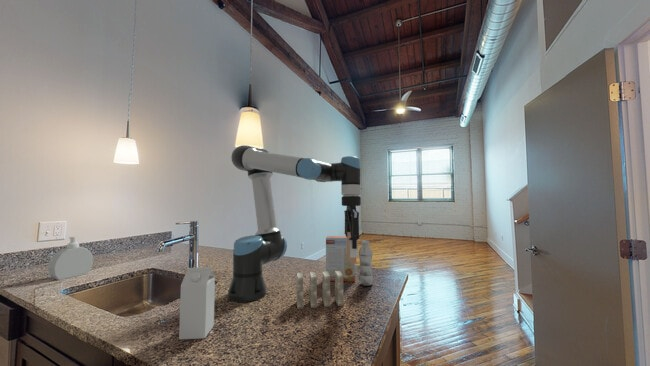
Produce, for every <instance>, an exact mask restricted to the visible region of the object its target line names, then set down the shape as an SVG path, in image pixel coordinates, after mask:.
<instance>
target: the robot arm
mask: <svg viewBox="0 0 650 366" xmlns="http://www.w3.org/2000/svg"><path fill="white" fill-rule="evenodd" d="M230 159H231V162H232V164H233V166H234V167H235V168H236V169H237V170H240V171H243V172H244V171H245V172H247V177H248V179H250V180H251V184H252V192H253V201H254V208H255V216H256V225H257V231H256V232H255V234H254V235H252V234H251V235H247V236H246V235H245V236H242V237H240V238H238V239H236V240H235V241H234V242H233V249H232V261H233V263H232V264H233V265H232V267H233V268H232V279H231V281H230V285H229V288H228V291H227V298H228V300H230V301H232V302H237V303H246V302H247V303H248V302H253V301H257V300H260V299H262V298H263V297H265V296H266V294H267V285H266V283H265V282H266V281H265V279H264V276H263V265H266V264H269V263H272V262H275V261H277V260H279V259H281V258H283V256H284V255H285V254H286V252H287V248H288V243H287V240H286V238H285V237H284V235H283V234H281V229H279V228H278V227H277V222H276V221H277V220H276V212H275V206H274V199H273V190H272V184H271V183H272V182H271V177H273V175H274V173H277V174H281V175H286V176H291V177H297V178H301V179H305V180H308V181H310V180H311V181H312V180H313V181H316V182H317V183H326V182H327V183H329V182H340V183H341V186H340V188H341V189H340V190H341V193H340V194H341V206H343V207H346V209H345V210H344V235H345V236H346V254H348V252H347V232H350V234H351V238H349V240H350V257H351V258H353V257H356V258H359V257H358V256H359V251H358V247H359V246H358V240H359V239H360V222H359V221H360V219H359V218H360V217H359V216H360V212H359V211H358V210H357V207H359V206H361V205H362V199H361V196H360V195H361V190H362V187H361V160H360V158H359V157H358V156H353V155H350V156H348V155H347V156H343V157H341V158H340V162H333V163H328V162H325V161H320V160H317V159H315V158H310V157H306V158H305V157H300V156H293V155H286V154H281V153H272V152H270V151H268V150H266V149H264V148H259V147H254V146H250V145H239V146H237V147H235V149H234V150H232V153H231V158H230Z"/></svg>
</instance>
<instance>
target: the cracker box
mask: <svg viewBox="0 0 650 366" xmlns="http://www.w3.org/2000/svg"><path fill="white" fill-rule="evenodd" d="M327 271H328V273H329V275H330V282H335V271H340V272H341V273H342V275H343V282H348V283H349V282H351V283H353V282H354V283H355V282H356V263H352V264H351V263H350V262H349V261H348V254H346V235H345V236H343V235H342V236H341V235H331V236H330V235H328V236H326V237H325V272H327Z"/></svg>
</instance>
